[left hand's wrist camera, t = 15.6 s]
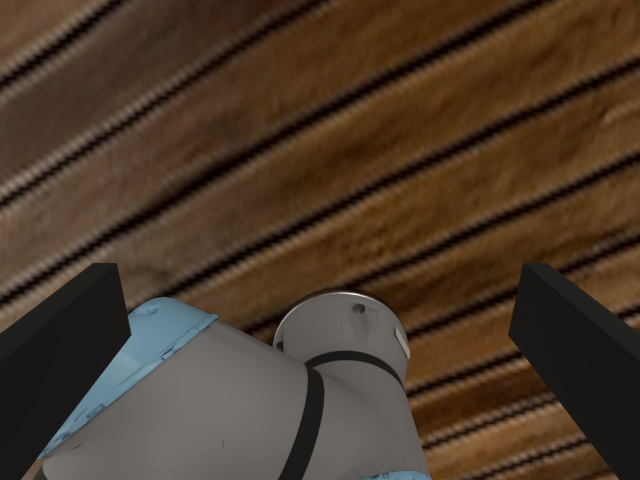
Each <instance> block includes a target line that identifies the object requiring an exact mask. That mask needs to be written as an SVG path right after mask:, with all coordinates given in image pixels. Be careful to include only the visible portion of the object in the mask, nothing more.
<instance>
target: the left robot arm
mask: <svg viewBox="0 0 640 480" xmlns="http://www.w3.org/2000/svg"><path fill="white" fill-rule="evenodd" d="M218 317H219V316H218V315H216V314H207V313H205V312H203V311H201V310H199V309H196V308H194V307H192V306H190V305H187V304H185V303H183V302H181V301H178V300H176V299H173V298H168V297H160V298H155V299H152V300H149V301H147V302H146V303H144V304H142V305H141V306H139V307H138V308H137V309H135V310H134V311H133V312H132V313H131V314H130V315H127V310H126V305H125V300H124V296H123V291H122V286H121V281H120V276H119V272H118V267H117V263H92V264H91V265H90V266H88V267H87V268H86V269H85V270H83V271H82V272H81V273H79V274H78V275H77V276H75V277H74V278H73V279H71V280H70V281H69V282H68V283H66V284H65V285H64V286H62V287H61V288H60V289H58V290H57V291H56V292H54V293H53V294H52V295H50V296H49V297H48V298H47V299H45V300H44V301H43V302H41V303H40V304H39V305H37V306H36V307H35V308H33V309H32V310H31V311H29V312H28V313H27V314H26V315H24V316H23V317H22V318H20V319H19V320H18V321H16V322H15V323H14V324H12V325H11V326H10V327H8V328H7V329H6V330H5V331H3V332H2V333H1V334H0V480H21V479H22V477H23V476H24V475H25V473H26V472H27V471H28V470H29V468H30V467H31V466H32V464H33V463H34V462H35V460H36V459H39V460H40V459H42V458H43V459H45V460H44V463H43V465H42V466H41V468H40V469H39V471H38V472H37V474H36V475H35V477H34V478H33V480H432V479H431V476H430V473H429V470H428V466H427V463H426V460H425V456H424V453H423V450H422V447H421V443H420V440H419V437H418V433H417V430H416V427H415V423H414V420H413V417H412V413H411V410H410V407H409V403H408V400H407V397H406V394H405V390H404V383H405V377H406V370H407V364H408V358H409V356H410V351H409V349H408V341H407V336H406V333H405V330H404V327H403V324H402V322H401V320H400V318H399V316H398V315H397V313H396V312H395V311H394V310H393V309H392V308H391V307H390V306H389V305H388V304H387V303H386V302H385V301H383V300H382V299H380V298H379V297H377V296H375V295H373V294H371V293H368V292H366V291H362V290H358V289H353V288H329V289H324V290H320V291H317V292H314V293H311V294H309V295H307V296H305V297H303V298H302V299H300V300H299V301H297V302H296V303H294V304H293V305H292V306H291V307H290V308H289V309H288V310H287V311H286V312H285V314H284V315H283V317H282V318H281V320H280V322H279V324H278V326H277V329H276V332H275V337H274V342H273V347H271V346H269V345H267V344H265V343H263V342H261V341H259V340H257V339H256V338H254V337H252V336H250V335H248V334H246V333H244V332H242V331H240V330H238V329H236V328H234V327H232V326H230V325H228V324H226V323H224V322H222V321H220V320H218V319H217V318H218ZM508 335H509V337H510V338H511V339H512V341H513V342H514V343H515V345H516V346H517V347H518V348H519V350H520V351H521V352H522V354H523V355H524V356H525V358H526V359H527V360H528V362H529V363H530V364H531V365H532V367H533V368H534V369H535V371H536V372H537V373H538V375H539V376H540V377H541V378H542V380H543V381H544V382H545V384H546V385H547V386H548V388H549V389H550V390H551V391H552V393H553V394H554V395H555V397H556V398H557V399H558V401H559V402H560V403H561V404H562V406H563V407H564V408H565V410H566V411H567V412H568V414H569V415H570V416H571V418H572V419H573V420H574V421H575V423H576V424H577V425H578V427H579V428H580V429H581V431H582V432H583V433H584V434H585V436H586V437H587V438H588V440H589V441H590V442H591V444H592V445H593V446H594V447H595V449H596V450H597V451H598V453H599V454H600V455H601V457H602V458H603V459H604V460H605V462H606V463H607V464H608V466H609V467H610V468H611V470H612V471H613V472H614V473H615V475H616V476H617V477H618V479H619V480H640V334H639V333H638V332H637V331H635V330H634V329H633V328H632V327H630V326H629V325H628V324H626V323H625V322H624V321H622V320H621V319H620V318H618V317H617V316H616V315H614V314H613V313H612V312H611V311H609V310H608V309H607V308H605V307H604V306H603V305H601V304H600V303H599V302H597V301H596V300H595V299H593V298H592V297H591V296H590V295H588V294H587V293H586V292H584V291H583V290H582V289H580V288H579V287H578V286H576V285H575V284H574V283H572V282H571V281H570V280H569V279H567V278H566V277H565V276H563V275H562V274H561V273H559V272H558V271H557V270H555V269H554V268H553V267H552V266H550V265H549V264H548V263H523V267H522V272H521V276H520V281H519V286H518V291H517V296H516V300H515V305H514V310H513V315H512V319H511V324H510V329H509V334H508Z"/></svg>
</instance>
